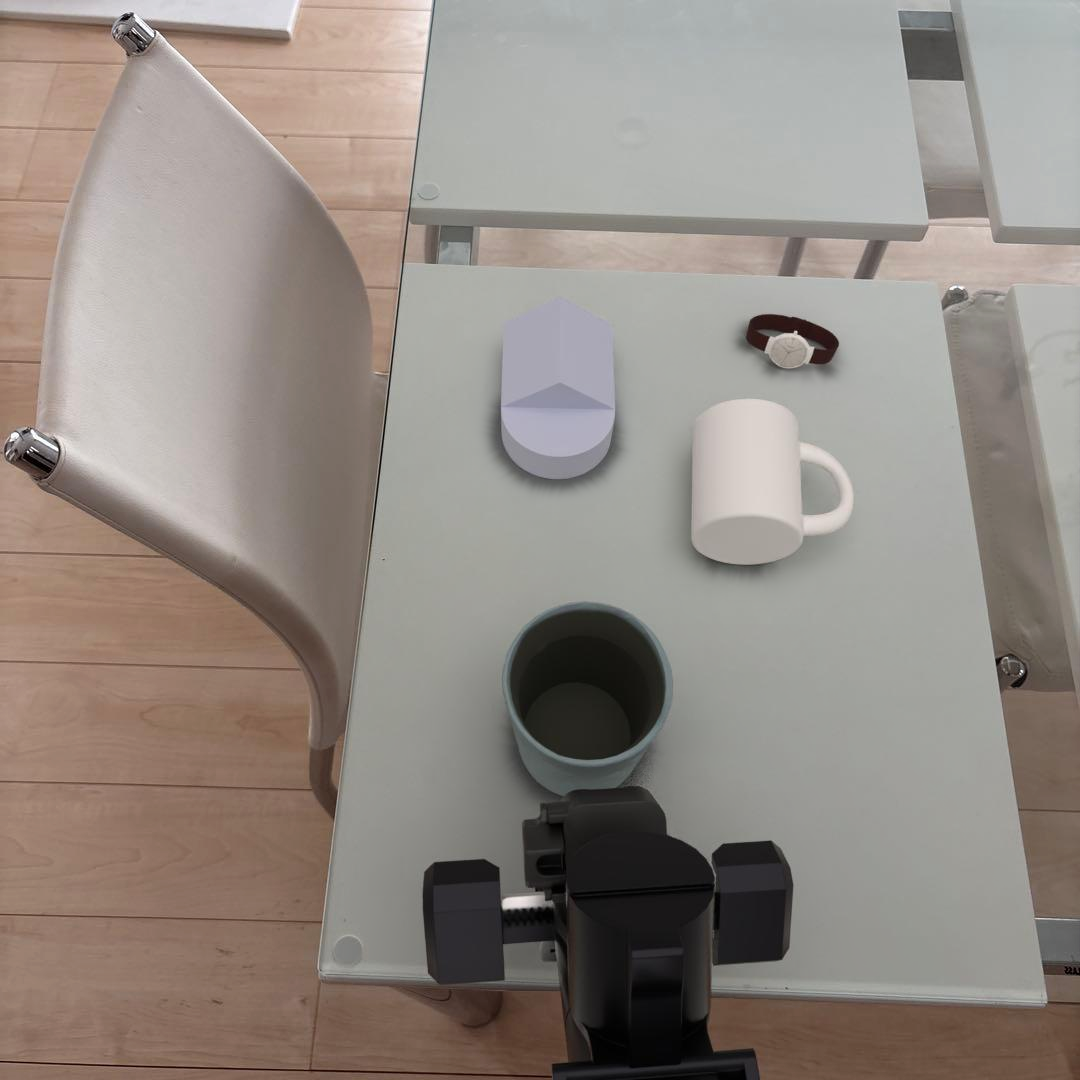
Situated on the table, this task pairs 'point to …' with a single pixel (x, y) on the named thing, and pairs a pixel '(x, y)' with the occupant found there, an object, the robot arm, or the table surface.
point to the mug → (756, 484)
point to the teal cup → (585, 695)
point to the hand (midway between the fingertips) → (589, 818)
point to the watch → (791, 340)
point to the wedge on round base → (557, 389)
